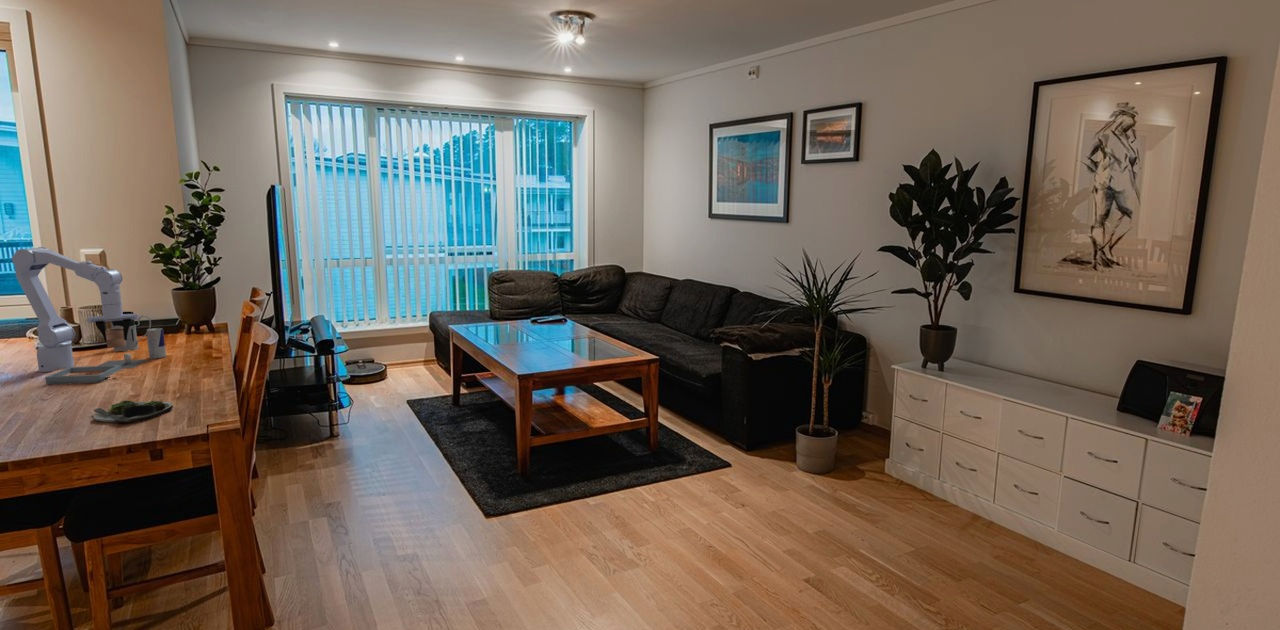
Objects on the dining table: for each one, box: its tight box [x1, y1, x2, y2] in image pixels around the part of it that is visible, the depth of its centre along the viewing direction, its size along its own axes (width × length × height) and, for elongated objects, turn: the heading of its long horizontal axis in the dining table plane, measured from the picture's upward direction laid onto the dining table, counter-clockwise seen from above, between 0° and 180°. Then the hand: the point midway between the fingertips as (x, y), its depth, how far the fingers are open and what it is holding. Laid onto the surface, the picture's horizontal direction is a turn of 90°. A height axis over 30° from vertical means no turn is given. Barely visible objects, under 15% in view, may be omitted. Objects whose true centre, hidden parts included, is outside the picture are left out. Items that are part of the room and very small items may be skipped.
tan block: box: [105, 328, 126, 349], centre depth 250 cm, size 5×7×6 cm
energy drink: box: [145, 327, 167, 360], centre depth 264 cm, size 5×5×12 cm
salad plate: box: [93, 400, 174, 424], centre depth 200 cm, size 19×18×5 cm
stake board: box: [97, 353, 152, 370], centre depth 253 cm, size 14×14×4 cm
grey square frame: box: [44, 365, 123, 385], centre depth 238 cm, size 16×14×2 cm
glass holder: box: [110, 311, 152, 352], centre depth 281 cm, size 9×14×15 cm, turn 104°
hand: (116, 340), depth 249 cm, fingers closed on tan block, 5 cm apart
